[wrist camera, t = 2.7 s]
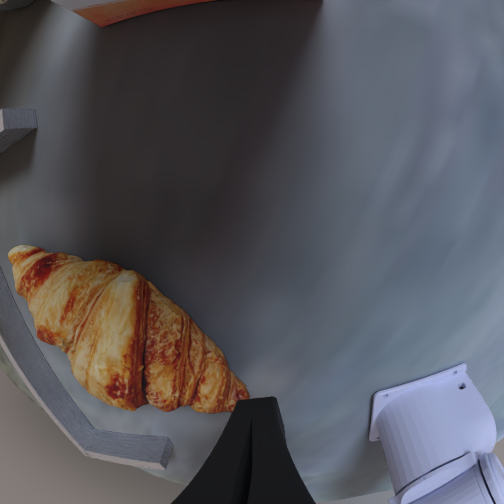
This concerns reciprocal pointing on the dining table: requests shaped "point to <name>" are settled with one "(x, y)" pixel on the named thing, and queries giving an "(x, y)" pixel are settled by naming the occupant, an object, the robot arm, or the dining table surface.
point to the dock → (41, 375)
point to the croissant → (123, 334)
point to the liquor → (13, 4)
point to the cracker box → (118, 8)
